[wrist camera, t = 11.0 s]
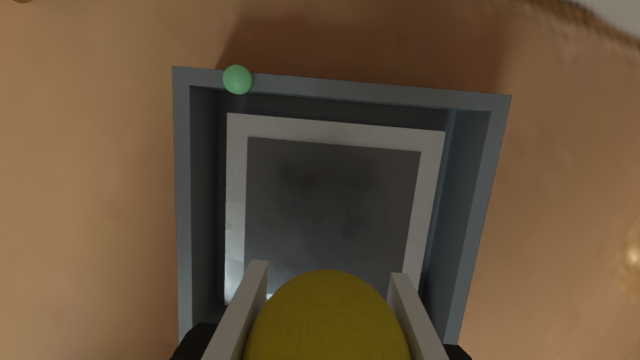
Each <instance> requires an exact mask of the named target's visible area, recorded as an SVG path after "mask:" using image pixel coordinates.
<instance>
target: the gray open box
mask: <svg viewBox="0 0 640 360" xmlns="http://www.w3.org/2000/svg"><path fill="white" fill-rule="evenodd" d="M172 79H173V120H174V160H175V201H176V241H177V282H178V323H179V344H180V342H181V341H182V339H183V338H184V336H185V335H186V333H187V332H188V331H189V330H190V329H192V328H193V327H194V326H195V325H197V324H198V323H199V322H203V323H214V324H219V323H220V321H221V319H222V317H223V315H224V313H225V311H226V309H227V307H228V305H224V294H225V226H226V158H227V113H242V114H253V115H265V116H276V117H288V118H299V119H311V120H322V121H334V122H345V123H357V124H368V125H380V126H391V127H403V128H414V129H426V130H437V131H445V132H446V134H445V140H444V145H443V151H442V157H441V162H440V168H439V174H438V179H437V185H436V190H435V196H434V202H433V207H432V213H431V219H430V224H429V230H428V236H427V241H426V247H425V253H424V258H423V264H422V270H421V275H420V281H419V287H418V292H417V294H418V296H419V298H420V300H421V302H422V304H423V306H424V308H425V310H426V312H427V314H428V316H429V319H430V321H431V323H432V325H433V327H434V329H435V331H436V333H437V335H438V337H439V339H440V341H441V343H442V344H453V345H457V343H458V338H459V334H460V329H461V325H462V320H463V316H464V311H465V307H466V302H467V298H468V293H469V288H470V284H471V279H472V275H473V270H474V266H475V261H476V257H477V252H478V248H479V243H480V238H481V234H482V229H483V225H484V220H485V216H486V211H487V207H488V202H489V198H490V193H491V188H492V184H493V179H494V175H495V170H496V166H497V161H498V157H499V152H500V148H501V143H502V138H503V134H504V129H505V125H506V120H507V116H508V111H509V107H510V102H511V98H512V95H505V94H493V93H482V92H470V91H458V90H447V89H435V88H424V87H412V86H401V85H389V84H377V83H366V82H354V81H343V80H331V79H319V78H308V77H296V76H285V75H273V74H261V73H250V71H249V70H248V69H246V68H245V67H243V66H240V65H231V66H229V67H228V68H227V69H226V70H215V69H203V68H192V67H180V66H172Z"/></svg>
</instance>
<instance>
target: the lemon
mask: <svg viewBox="0 0 640 360" xmlns="http://www.w3.org/2000/svg"><path fill="white" fill-rule="evenodd" d="M242 360H411V357H410V351H409V348H408V344H407V341H406V338H405V336H404V333H403V331H402V329H401V327H400V325H399V323H398V321H397V318H396V316H395V314H394V312H393V311H392V309H391V307H390V306H389V305H388V303H387V302H386V301H385V300H384V299H383V298H382V297H381V295H380V294H379V293H378V292H377V291H376V290H375V288H373V287H372V286H371V285H369V284H368V283H366V282H365V281H363V280H362V279H360V278H359V277H357V276H354V275H352V274H349V273H346V272H344V271H339V270H331V269H322V270H313V271H309V272H306V273H303V274H300V275H298V276H295V277H294V278H292V279H291V280H289V281H288V282H286V283H285V284H283V285H282V286H280V287H279V288H278V289H277V290H276V292H275V293H274V294H273V295H272V296H271V297H270V298H269V299H268V301H267V302H266V303H265V304H264V306H263V307H262V309H261V310H260V312H259V314H258V316H257V318H256V320H255V322H254V325H253V327H252V329H251V331H250V333H249V336H248V338H247V341H246V345H245V349H244V354H243V359H242Z"/></svg>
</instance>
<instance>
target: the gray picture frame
mask: <svg viewBox="0 0 640 360" xmlns="http://www.w3.org/2000/svg"><path fill="white" fill-rule="evenodd" d="M445 134H446V132H445V131H437V130H426V129H414V128H403V127H391V126H380V125H368V124H357V123H345V122H334V121H322V120H311V119H299V118H288V117H276V116H265V115H253V114H242V113H227V158H226V226H225V294H224V305H229V303H230V302H231V300H232V298H233V296H234V294H235V292H236V290H237V288H238V286H239V284H240V282H241V280H242V278H243V276H244V274H245V272H246V270H247V268H248V266H249V264H250V262H251V260H263V261H269V262H268V282H267V301H268V299H269V298H270V297H271V296H272V295H273V294H274V293H275V292H276V290H277V289H278V288H279V287H280V286H282V285H283V284H285V283H286V282H288V281H289V280H291V279H292V278H294V277H295V276H298V275H300V274H303V273H306V272H309V271H313V270H322V269H331V270H339V271H344V272H346V273H349V274H352V275H354V276H357V277H359V278H360V279H362V280H363V281H365V282H366V283H368V284H369V285H371V286H372V287H373V288H375V290H376V291H377V292H378V293H379V294H380V295H381V297H382V298H383V299H384V300H385V301H387V295H388V288H389V282H390V275H391V272H395V273H406V274H408V275H409V277H410V279H411V281H412V283H413V285H414V288H415V290H416V292H418V287H419V281H420V275H421V270H422V264H423V258H424V253H425V247H426V241H427V236H428V230H429V224H430V219H431V213H432V207H433V202H434V196H435V190H436V185H437V179H438V174H439V168H440V162H441V157H442V151H443V145H444V140H445Z"/></svg>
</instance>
